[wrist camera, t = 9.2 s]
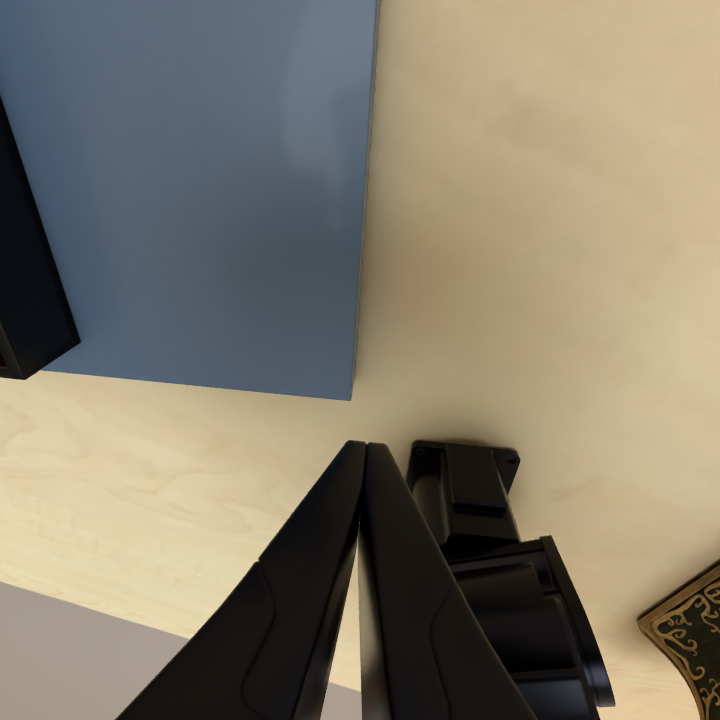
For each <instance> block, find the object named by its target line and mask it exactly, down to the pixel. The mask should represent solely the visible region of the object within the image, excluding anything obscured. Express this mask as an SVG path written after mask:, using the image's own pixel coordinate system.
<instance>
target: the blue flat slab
mask: <svg viewBox="0 0 720 720" xmlns="http://www.w3.org/2000/svg"><path fill="white" fill-rule="evenodd" d="M380 3H381V0H0V96H1V99H2V102H3V105H4V109H5V112H6V115H7V118H8V121H9V124H10V127H11V130H12V133H13V136H14V139H15V142H16V145H17V148H18V151H19V154H20V157H21V160H22V163H23V167H24V170H25V173H26V176H27V179H28V182H29V185H30V188H31V191H32V194H33V197H34V200H35V203H36V206H37V209H38V212H39V215H40V218H41V221H42V224H43V228H44V231H45V234H46V237H47V240H48V243H49V246H50V249H51V252H52V255H53V258H54V261H55V264H56V267H57V270H58V273H59V276H60V279H61V282H62V286H63V289H64V292H65V295H66V298H67V301H68V304H69V307H70V310H71V313H72V316H73V319H74V322H75V325H76V328H77V331H78V334H79V337H80V340H81V343H80V344H78V345H77V346H75V347H74V348H72V349H71V350H69V351H68V352H66V353H65V354H63V355H62V356H60V357H59V358H57V359H56V360H54V361H53V362H51V363H50V364H48V365H47V366H45V367H44V368H42V369H41V370H44V371H54V372H64V373H74V374H84V375H94V376H104V377H114V378H124V379H134V380H144V381H154V382H165V383H175V384H185V385H195V386H205V387H215V388H225V389H235V390H245V391H255V392H265V393H275V394H285V395H295V396H306V397H316V398H326V399H336V400H346V401H350V400H351V397H352V391H353V385H354V377H355V363H356V348H357V334H358V319H359V305H360V291H361V276H362V262H363V247H364V233H365V219H366V204H367V190H368V176H369V161H370V147H371V132H372V118H373V104H374V89H375V75H376V60H377V46H378V32H379V17H380Z"/></svg>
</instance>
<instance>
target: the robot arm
mask: <svg viewBox="0 0 720 720" xmlns="http://www.w3.org/2000/svg"><path fill="white" fill-rule="evenodd" d="M366 448H367V450H366ZM419 448H420V449H422V450H417V449H419ZM510 458H513V459H510ZM519 464H520V457H519V455H518V453H517V452H516V451H513V450H505V449H495V448H486V447H476V446H466V445H456V444H446V443H437V442H427V441H416V442H414V443H413V444H412V445H411V449H410V455H409V461H408V466H407V472H406V478H405V480H404V478H403V476H402V474H401V472H400V470H399V468H398V466H397V464H396V462H395V460H394V458H393V456H392V454H391V452H390V450H389V448H388V446H387V445H386V444H383V443H373V442H369V443H368V444H366V442H364V441H354V440H349V441H347V442H346V443H345V445H344V446H343V447H342V449H341V450H340V451H339V453H338V454H337V455H336V457H335V458H334V459H333V461H332V462H331V463H330V465H329V466H328V467H327V468H326V470H325V471H324V472H323V474H322V475H321V476H320V478H319V479H318V480H317V482H316V483H315V484H314V486H313V487H312V488H311V489H310V491H309V492H308V493H307V495H306V496H305V497H304V499H303V500H302V501H301V503H300V504H299V505H298V507H297V508H296V509H295V511H294V512H293V513H292V514H291V516H290V517H289V518H288V520H287V521H286V522H285V524H284V525H283V526H282V528H281V529H280V530H279V532H278V533H277V534H276V536H275V537H274V538H273V539H272V541H271V542H270V543H269V545H268V546H267V547H266V549H265V550H264V551H263V553H262V554H261V555H260V557H259V558H258V561H256V562H255V563H254V564H253V565H252V567H251V568H250V569H249V571H248V572H247V573H246V575H245V576H244V577H243V579H242V580H241V581H240V582H239V584H238V585H237V586H236V587H235V589H234V590H233V591H232V592H231V594H230V595H229V596H228V597H227V598H226V600H225V601H224V602H223V603H222V605H221V606H220V607H219V608H218V609H217V610H216V612H215V613H214V614H213V615H212V616H211V617H210V618H209V619H208V620H207V622H206V623H205V624H204V625H203V626H202V627H201V628H200V629H199V630H198V632H197V633H196V634H195V635H194V636H193V637H192V638H191V639H190V640H189V642H188V643H187V644H186V645H185V646H184V647H183V648H182V649H181V650H180V651H179V652H178V653H177V654H176V655H175V656H174V657H173V658H172V659H171V661H170V662H169V663H168V664H167V665H166V666H165V667H164V668H163V669H162V670H161V671H160V672H159V673H158V674H157V675H156V677H155V678H154V679H153V680H152V681H151V682H150V683H149V684H148V685H147V686H146V687H145V688H144V690H143V691H141V692H140V694H139V695H138V696H137V697H136V698H135V699H134V700H133V701H132V702H131V703H130V704H129V705H128V706H127V707H126V709H125V710H124V711H123V712H122V713H121V714H120V715H119V716H118V717H117V718H116V719H115V720H320V717H321V712H322V708H323V703H324V698H325V693H326V689H327V684H328V680H329V675H330V670H331V666H332V661H333V656H334V652H335V647H336V642H337V638H338V633H339V629H340V624H341V619H342V615H343V610H344V605H345V601H346V596H347V591H348V587H349V582H350V577H351V573H352V568H353V563H354V559H355V553H356V548H357V541H358V585H359V622H360V658H361V694H362V720H600V718H599V714H598V711H597V708H596V706H598V707H613V706H615V699H614V695H613V691H612V688H611V684H610V681H609V678H608V674H607V671H606V668H605V665H604V662H603V659H602V656H601V653H600V650H599V648H598V645H597V642H596V639H595V636H594V634H593V631H592V628H591V626H590V623H589V621H588V618H587V616H586V613H585V611H584V608H583V606H582V604H581V601H580V599H579V597H578V595H577V592H576V590H575V588H574V586H573V583H572V581H571V579H570V577H569V574H568V572H567V570H566V568H565V565H564V563H563V561H562V559H561V556H560V554H559V552H558V550H557V547H556V545H555V543H554V541H553V538H552V536H551V535H549V536H543V537H540V539H537V540H530V541H524V542H522V541H521V538H520V535H519V532H518V528H517V525H516V522H515V519H514V515H513V512H512V509H511V506H510V503H509V499H508V496H507V495H508V493H509V490H510V488H511V485H512V482H513V480H514V477H515V474H516V472H517V469H518V466H519ZM360 512H361V513H360ZM359 522H360V524H359ZM358 532H359V535H358Z"/></svg>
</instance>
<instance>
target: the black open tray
mask: <svg viewBox="0 0 720 720" xmlns="http://www.w3.org/2000/svg"><path fill="white" fill-rule="evenodd" d="M80 343H81V340H80V337H79V334H78V331H77V328H76V325H75V322H74V319H73V316H72V313H71V310H70V307H69V304H68V301H67V298H66V295H65V292H64V289H63V286H62V282H61V279H60V276H59V273H58V270H57V267H56V264H55V261H54V258H53V255H52V252H51V249H50V246H49V243H48V240H47V237H46V234H45V231H44V228H43V224H42V221H41V218H40V215H39V212H38V209H37V206H36V203H35V200H34V197H33V194H32V191H31V188H30V185H29V182H28V179H27V176H26V173H25V170H24V167H23V163H22V160H21V157H20V154H19V151H18V148H17V145H16V142H15V139H14V136H13V133H12V130H11V127H10V124H9V121H8V118H7V115H6V112H5V109H4V105H3V102H2V99H1V96H0V377H2V378H11V379H20V380H26V379H27V378H29V377H30V376H32V375H33V374H35V373H36V372H38V371H39V370H41V369H42V368H44V367H45V366H47V365H48V364H50V363H51V362H53V361H54V360H56V359H57V358H59V357H60V356H62V355H63V354H65V353H66V352H68V351H69V350H71V349H72V348H74V347H75V346H77V345H78V344H80Z"/></svg>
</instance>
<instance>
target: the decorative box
mask: <svg viewBox="0 0 720 720" xmlns="http://www.w3.org/2000/svg"><path fill="white" fill-rule="evenodd" d="M638 625H639V629H640V631H641V632H642V633H643V634H644V635H645V636H646V637H647V638H648V639H649V640H650V641H651V642H652V643H653V644H654V645H655V646H656V647H657V648H658V649H659V650H660V651H661V652H662V653H663V654H664V655H665V656H666V657H667V658H668V659H669V660H670V661H671V662H672V663H673V665H674V666H675V667H676V668H677V670H678V671H679V672H680V674H681V675H682V677H683V678H684V679H685V681H686V683H687V685H688V686H689V688H690V690H691V692H692V694H693V697H694V699H695V702H696V704H697V707H698V711H699V715H700V720H720V565H718V566H717V567H715V568H714V569H713V570H711V571H710V572H708V573H707V574H705V575H704V576H702V577H701V578H699V579H698V580H697V581H695V582H694V583H692V584H691V585H689V586H688V587H686V588H685V589H683V590H682V591H680V592H679V593H678V594H676V595H675V596H673V597H672V598H670V599H669V600H667V601H666V602H664V603H663V604H662V605H660V606H659V607H657V608H656V609H654V610H653V611H651V612H650V613H648V614H647V615H645V616H644V617H643V618H641V619H640V620H639V621H638Z"/></svg>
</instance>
